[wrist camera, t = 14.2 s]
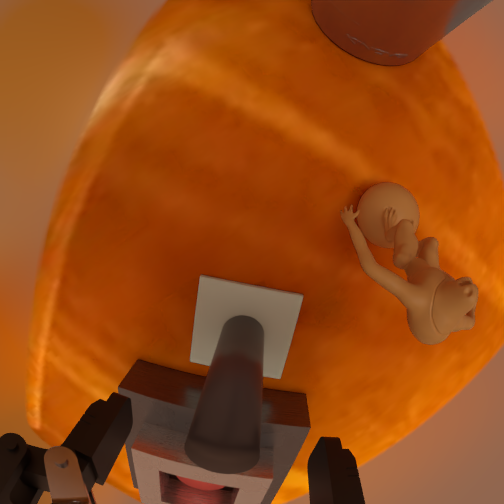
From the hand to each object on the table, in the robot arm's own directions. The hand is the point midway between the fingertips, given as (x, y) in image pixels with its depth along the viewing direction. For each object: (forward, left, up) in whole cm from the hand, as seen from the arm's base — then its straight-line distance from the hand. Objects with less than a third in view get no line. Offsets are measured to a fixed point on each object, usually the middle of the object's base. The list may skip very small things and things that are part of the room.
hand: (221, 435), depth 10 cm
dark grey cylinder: (+1, 0, -10) cm, 10 cm away
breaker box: (+13, -1, -11) cm, 17 cm away
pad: (0, 0, -11) cm, 11 cm away
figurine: (-9, +7, -11) cm, 16 cm away
